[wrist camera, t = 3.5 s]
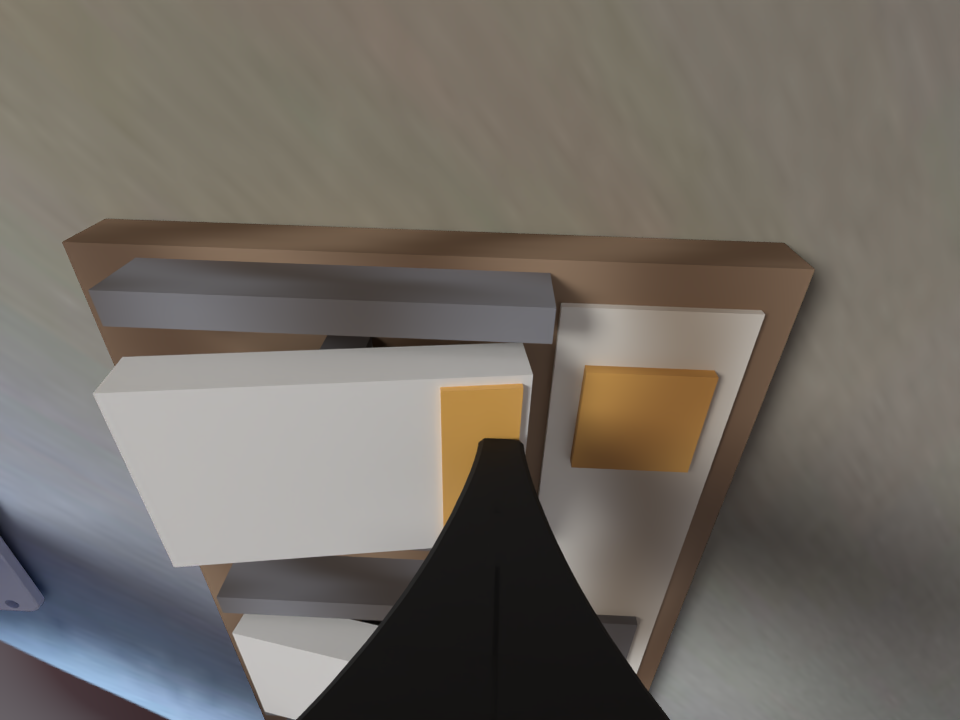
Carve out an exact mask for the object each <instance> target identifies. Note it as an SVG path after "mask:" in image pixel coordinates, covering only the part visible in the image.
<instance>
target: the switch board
mask: <svg viewBox="0 0 960 720" xmlns="http://www.w3.org/2000/svg"><path fill="white" fill-rule="evenodd" d="M62 243H63V245H64V248H65V250H66V252H67V255H68V257H69V260H70V262H71V264H72V267H73V269H74V271H75V274H76V276H77V278H78V281H79V283H80V285H81V288H82V290H83V293H84V295H85V297H86V300H87V302H88V304H89V307H90V309H91V311H92V314H93V316H94V318H95V321H96V323H97V326H98V328H99V330H100V333H101V335H102V337H103V340H104V342H105V344H106V347H107V349H108V351H109V354H110V356H111V358H112V361H113V363H114V366H116V364H117V363H118V362H119V361H120V359H121V358H122V357H134V356H161V355H189V354H216V353H243V352H271V351H298V350H326V349H353V348H380V347H408V346H435V345H462V344H490V343H523V345H524V348H525V352H526V355H527V358H528V361H529V364H530V367H531V370H532V373H533V381H532V391H531V402H530V413H529V423H528V434H527V444H526V455H525V456H526V460H527V464H528V468H529V471H530V475H531V478H532V481H533V484H534V487H535V490H536V493H537V495H538V498H539V501H540V503H541V506H542V508H543V510H544V513H545V515H546V518H547V520H548V522H549V525H550V527H551V530H552V532H553V534H554V536H555V538H556V541H557V543H558V545H559V547H560V549H561V551H562V553H563V555H564V557H565V559H566V561H567V563H568V565H569V567H570V569H571V571H572V573H573V574H574V576H575V578H576V580H577V582H578V584H579V586H580V587H581V589H582V591H583V593H584V594H585V596H586V598H587V599H588V601H589V603H590V605H591V606H592V608H593V610H594V611H595V613H596V614H597V616H598V618H599V619H600V621H601V623H602V624H603V626H604V627H605V629H606V631H607V632H608V634H609V635H610V637H611V638H612V640H613V641H614V643H615V644H616V646H617V647H618V648H619V650H620V651H621V653H622V654H623V656H624V657H625V659H626V660H627V661H628V663H629V664H630V666H631V667H632V669H633V670H634V672H635V673H636V674H637V676H638V677H639V679H640V680H641V682H642V683H643V685H644V686H645V687H646V689H647V690H648V691H649V688H650V686H651V683H652V681H653V678H654V676H655V673H656V671H657V668H658V666H659V663H660V661H661V658H662V655H663V653H664V650H665V648H666V645H667V643H668V640H669V638H670V635H671V633H672V630H673V628H674V625H675V623H676V620H677V618H678V615H679V612H680V610H681V607H682V605H683V602H684V600H685V597H686V595H687V592H688V590H689V587H690V585H691V582H692V580H693V577H694V574H695V572H696V569H697V567H698V564H699V562H700V559H701V557H702V554H703V552H704V549H705V547H706V544H707V542H708V539H709V537H710V534H711V531H712V529H713V526H714V524H715V521H716V519H717V516H718V514H719V511H720V509H721V506H722V504H723V501H724V499H725V496H726V494H727V491H728V488H729V486H730V483H731V481H732V478H733V476H734V473H735V471H736V468H737V466H738V463H739V461H740V458H741V456H742V453H743V450H744V448H745V445H746V443H747V440H748V438H749V435H750V433H751V430H752V428H753V425H754V423H755V420H756V418H757V415H758V413H759V410H760V407H761V405H762V402H763V400H764V397H765V395H766V392H767V390H768V387H769V385H770V382H771V380H772V377H773V375H774V372H775V370H776V367H777V364H778V362H779V359H780V357H781V354H782V352H783V349H784V347H785V344H786V342H787V339H788V337H789V334H790V332H791V329H792V326H793V324H794V321H795V319H796V316H797V314H798V311H799V309H800V306H801V304H802V301H803V299H804V296H805V294H806V291H807V289H808V286H809V283H810V281H811V278H812V276H813V273H814V271H815V269H814V268H813V267H812V266H810V265H809V264H808V263H807V262H806V261H805V260H803V259H802V258H801V257H800V256H799V255H798V254H796V253H795V252H794V251H793V250H792V249H790V248H789V247H788V246H787V245H786V244H785V243H771V242H743V241H715V240H687V239H658V238H630V237H602V236H574V235H546V234H518V233H490V232H461V231H433V230H405V229H377V228H349V227H321V226H293V225H264V224H236V223H208V222H180V221H152V220H124V219H104V220H102V221H100V222H98V223H97V224H95V225H93V226H91V227H89V228H87V229H85V230H83V231H82V232H80V233H78V234H76V235H74V236H72V237H70V238H69V239H67V240H65V241H63V242H62ZM431 549H432V548H427V549H414V550H400V551H387V552H373V553H360V554H347V555H333V556H320V557H306V558H293V559H279V560H266V561H253V562H239V563H226V564H212V565H199V566H200V568H201V570H202V573H203V575H204V578H205V580H206V582H207V585H208V587H209V589H210V592H211V594H212V596H213V599H214V601H215V603H216V606H217V608H218V611H219V613H220V615H221V618H222V620H223V622H224V625H225V627H226V629H227V632H228V634H229V636H230V639H231V641H232V643H233V646H234V648H235V651H236V653H237V655H238V658H239V660H240V662H241V665H242V667H243V669H244V672H245V674H246V676H247V679H248V681H249V684H250V686H251V688H252V691H253V693H254V695H255V698H256V700H257V702H258V705H259V707H260V709H261V712H262V714H263V717H264V719H265V720H294V719H291V718H287V717H283V716H279V715H275V714H272V713H268V712H265V711H264V708H263V706H262V704H261V701H260V699H259V696H258V694H257V692H256V689H255V687H254V684H253V682H252V680H251V677H250V675H249V672H248V670H247V668H246V665H245V663H244V660H243V658H242V656H241V653H240V651H239V648H238V646H237V644H236V641H235V639H234V636H233V634H232V632H233V631H234V629H235V628H236V626H237V624H238V623H239V621H240V620H241V618H242V616H243V615H244V614H258V615H279V616H299V617H319V618H339V619H351V620H356V621H360V622H364V623H369V624H373V625H378V626H379V624H380V623H381V622H382V621H383V619H384V618H385V616H386V615H387V614H388V612H389V611H390V610H391V608H392V607H393V606H394V604H395V603H396V602H397V600H398V599H399V597H400V596H401V595H402V593H403V592H404V590H405V589H406V588H407V586H408V585H409V583H410V582H411V580H412V579H413V577H414V576H415V574H416V573H417V571H418V570H419V568H420V566H421V565H422V563H423V562H424V560H425V559H426V557H427V555H428V554H429V552H430V550H431Z"/></svg>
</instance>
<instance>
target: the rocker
mask: <svg viewBox="0 0 960 720" xmlns="http://www.w3.org/2000/svg"><path fill="white" fill-rule="evenodd" d="M532 381H533V373H532V370H531V367H530V364H529V361H528V358H527V355H526V352H525V348H524V345H523V343H490V344H462V345H435V346H408V347H380V348H353V349H326V350H298V351H271V352H243V353H216V354H189V355H161V356H134V357H122V358H121V359H120V361H119V362H118V363H117V364H116V366H115V367H114V368H113V369H112V371H111V372H110V373H109V374H108V375H107V377H106V378H105V379H104V380H103V382H102V383H101V384H100V385H99V386H98V388H97V389H96V390H95V391H94V393H93V395H94V397H95V399H96V402H97V404H98V406H99V408H100V410H101V412H102V414H103V417H104V419H105V421H106V423H107V425H108V427H109V429H110V432H111V434H112V436H113V438H114V440H115V442H116V444H117V446H118V449H119V451H120V453H121V455H122V457H123V459H124V461H125V464H126V466H127V468H128V470H129V472H130V474H131V476H132V479H133V481H134V483H135V485H136V487H137V489H138V491H139V494H140V496H141V498H142V500H143V502H144V504H145V506H146V508H147V511H148V513H149V515H150V517H151V519H152V521H153V523H154V526H155V528H156V530H157V532H158V534H159V536H160V538H161V541H162V543H163V545H164V547H165V549H166V551H167V553H168V556H169V558H170V560H171V562H172V564H173V566H174V567H185V566H199V565H212V564H226V563H239V562H253V561H266V560H279V559H293V558H306V557H320V556H333V555H347V554H360V553H373V552H387V551H400V550H414V549H427V548H432V547H433V545H434V543H435V542H436V540H437V538H438V536H439V535H440V533H441V531H442V529H443V527H444V526H445V524H446V522H447V520H448V518H449V516H450V515H451V513H452V511H453V508H454V506H455V504H456V502H457V500H458V498H459V496H460V494H461V492H462V490H463V487H464V485H465V483H466V480H467V478H468V475H469V473H470V470H471V468H472V465H473V462H474V459H475V455H476V452H477V448H478V442H480V441H481V440H482V439H484V438H495V439H513V440H520V441H521V442H522V443H523V444H524V451H525V455H526V444H527V434H528V423H529V413H530V402H531V391H532Z"/></svg>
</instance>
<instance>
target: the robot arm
mask: <svg viewBox="0 0 960 720" xmlns="http://www.w3.org/2000/svg"><path fill="white" fill-rule="evenodd" d="M44 600H45V599H44V597H43V595H42V593H41V592H40V591H39V589H38V588H37V586H36V585H35V584H34V582H33V581H32V580H31V578H30V577H29V575H28V574H27V573H26V571H25V570H24V568H23V567H22V566H21V564H20V563H19V561H18V560H17V559H16V557H15V556H14V554H13V553H12V552H11V550H10V549H9V547H8V546H7V545H6V543H5V542H4V540H3V539H2V538H1V536H0V610H13V611H35V610H38V609H39V608H40V606H41V605H42V604H43V602H44ZM296 720H670V719H669V718H668V716H667V715H666V714H665V712H664V711H663V710H662V708H661V707H660V706H659V705H658V703H657V702H656V701H655V699H654V698H653V697H652V695H651V694H650V693H649V691H648V690H647V689H646V687H645V686H644V685H643V683H642V682H641V680H640V679H639V677H638V676H637V674H636V673H635V672H634V670H633V669H632V667H631V666H630V664H629V663H628V661H627V660H626V659H625V657H624V656H623V654H622V653H621V651H620V650H619V648H618V647H617V646H616V644H615V643H614V641H613V640H612V638H611V637H610V635H609V634H608V632H607V631H606V629H605V627H604V626H603V624H602V623H601V621H600V619H599V618H598V616H597V614H596V613H595V611H594V610H593V608H592V606H591V605H590V603H589V601H588V599H587V598H586V596H585V594H584V593H583V591H582V589H581V587H580V586H579V584H578V582H577V580H576V578H575V576H574V574H573V573H572V571H571V569H570V567H569V565H568V563H567V561H566V559H565V557H564V555H563V553H562V551H561V549H560V547H559V545H558V543H557V541H556V538H555V536H554V534H553V532H552V530H551V527H550V525H549V522H548V520H547V518H546V515H545V513H544V510H543V508H542V506H541V503H540V501H539V498H538V495H537V493H536V490H535V487H534V484H533V481H532V478H531V475H530V471H529V468H528V464H527V460H526V456H525V451H524V444H523V443H522V442H521V441H520V440H513V439H495V438H484V439H482V440H481V441H480V442H478V448H477V452H476V455H475V459H474V462H473V465H472V468H471V470H470V473H469V475H468V478H467V480H466V483H465V485H464V487H463V490H462V492H461V494H460V496H459V498H458V500H457V502H456V504H455V506H454V508H453V511H452V513H451V515H450V516H449V518H448V520H447V522H446V524H445V526H444V527H443V529H442V531H441V533H440V535H439V536H438V538H437V540H436V542H435V543H434V545H433V547H432V549H431V550H430V552H429V554H428V555H427V557H426V559H425V560H424V562H423V563H422V565H421V566H420V568H419V570H418V571H417V573H416V574H415V576H414V577H413V579H412V580H411V582H410V583H409V585H408V586H407V588H406V589H405V590H404V592H403V593H402V595H401V596H400V597H399V599H398V600H397V602H396V603H395V604H394V606H393V607H392V608H391V610H390V611H389V612H388V614H387V615H386V616H385V618H384V619H383V621H382V622H381V623H380V624H379V626H378V627H377V628H376V630H375V631H374V632H373V633H372V635H371V636H370V637H369V638H368V640H367V641H366V642H365V643H364V644H363V646H362V647H361V648H360V649H359V650H358V652H357V653H356V654H355V655H354V656H353V657H352V659H351V660H350V661H349V662H348V663H347V664H346V666H345V667H344V668H343V669H342V670H341V671H340V673H339V674H338V675H337V676H336V677H335V679H334V680H333V681H332V682H331V683H330V684H329V685H328V686H327V688H326V689H325V690H324V691H323V692H322V693H321V694H320V695H319V696H318V697H317V698H316V699H315V700H314V701H313V703H312V704H311V705H310V706H309V707H308V708H307V709H306V710H305V711H304V712H303V713H302V714H301V715H300V716H299V717H298V718H297V719H296Z"/></svg>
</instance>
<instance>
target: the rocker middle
mask: <svg viewBox="0 0 960 720" xmlns="http://www.w3.org/2000/svg"><path fill="white" fill-rule="evenodd" d="M377 627H378V625H373V624H369V623H364V622H360V621H356V620H351V619H339V618H319V617H299V616H279V615H258V614H244V615H243V616H242V618H241V620H240V621H239V623H238V624H237V626H236V628H235V629H234V631H233V632H232V634H233V636H234V639H235V641H236V644H237V646H238V648H239V651H240V653H241V656H242V658H243V660H244V663H245V665H246V668H247V670H248V672H249V675H250V677H251V680H252V682H253V684H254V687H255V689H256V692H257V694H258V696H259V699H260V701H261V704H262V706H263V708H264V711H265V712H268V713H272V714H275V715H279V716H283V717H287V718H291V719H294V720H296V719H297V718H298V717H299V716H300V715H301V714H302V713H303V712H304V711H305V710H306V709H307V708H308V707H309V706H310V705H311V704H312V703H313V701H314V700H315V699H316V698H317V697H318V696H319V695H320V694H321V693H322V692H323V691H324V690H325V689H326V688H327V686H328V685H329V684H330V683H331V682H332V681H333V680H334V679H335V677H336V676H337V675H338V674H339V673H340V671H341V670H342V669H343V668H344V667H345V666H346V664H347V663H348V662H349V661H350V660H351V659H352V657H353V656H354V655H355V654H356V653H357V652H358V650H359V649H360V648H361V647H362V646H363V644H364V643H365V642H366V641H367V640H368V638H369V637H370V636H371V635H372V633H373V632H374V631H375V630H376V628H377Z"/></svg>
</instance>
